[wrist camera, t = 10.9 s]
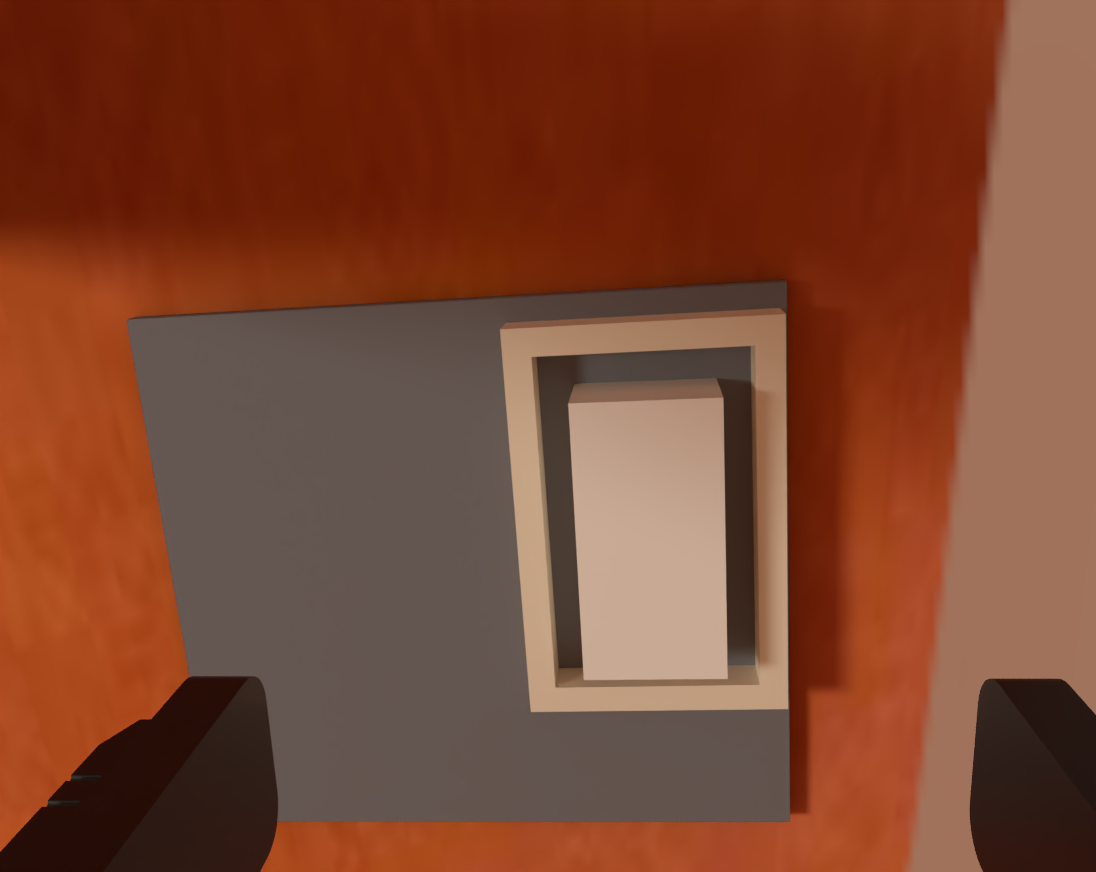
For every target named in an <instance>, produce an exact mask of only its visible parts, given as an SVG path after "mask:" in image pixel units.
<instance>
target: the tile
mask: <svg viewBox="0 0 1096 872" xmlns="http://www.w3.org/2000/svg"><path fill="white" fill-rule="evenodd" d="M568 409H569V427H570V445H571V462H572V480H573V498H574V516H575V533H576V551H577V569H578V587H579V604H580V622H581V640H582V658H583V675H584V680H658V679H728V670H727V603H726V537H725V470H724V404H723V395H722V392H721V390H720V387H719V384H718V381H717V379H716V378H705V379H680V380H655V381H630V382H605V383H580V384H574V387H573V390H572V393H571V396H570V399H569V403H568Z"/></svg>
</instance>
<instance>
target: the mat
mask: <svg viewBox="0 0 1096 872" xmlns="http://www.w3.org/2000/svg"><path fill="white" fill-rule="evenodd" d="M127 326H128V332H129V337H130V343H131V348H132V354H133V360H134V365H135V371H136V377H137V382H138V388H139V394H140V399H141V405H142V411H143V416H144V422H145V428H146V433H147V439H148V444H149V450H150V456H151V461H152V467H153V473H154V478H155V484H156V490H157V495H158V501H159V507H160V512H161V518H162V524H163V529H164V535H165V540H166V546H167V552H168V557H169V563H170V569H171V574H172V580H173V586H174V591H175V597H176V603H177V608H178V614H179V619H180V625H181V631H182V636H183V642H184V648H185V653H186V659H187V665H188V670H189V676H190V677H191V676H255V677H258V678H259V679H260V681H261V682H262V684H263V687H264V690H265V694H266V700H267V709H268V717H269V725H270V733H271V742H272V750H273V758H274V767H275V775H276V783H277V791H278V819H277V822H790V731H789V556H788V381H787V282H786V281H785V280H769V281H752V282H734V283H717V284H699V285H682V286H665V287H647V288H630V289H612V290H595V291H578V292H560V293H543V294H525V295H508V296H491V297H473V298H456V299H438V300H421V301H404V302H386V303H369V304H351V305H334V306H317V307H299V308H282V309H264V310H247V311H230V312H212V313H195V314H177V315H160V316H143V317H134V318H131V319H127ZM705 378H716V379H717V381H718V384H719V387H720V390H721V392H722V395H723V404H724V470H725V537H726V603H727V670H728V679H658V680H584V675H583V658H582V640H581V622H580V604H579V587H578V569H577V551H576V533H575V516H574V498H573V480H572V462H571V445H570V427H569V409H568V403H569V399H570V396H571V393H572V390H573V387H574V384H580V383H605V382H630V381H655V380H680V379H705Z"/></svg>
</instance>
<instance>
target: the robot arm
mask: <svg viewBox="0 0 1096 872" xmlns="http://www.w3.org/2000/svg"><path fill="white" fill-rule="evenodd" d="M972 773H973V774H972V785H971V798H970V823H971V831H972V838H973V843H974V847H975V851H976V855H977V858H978V861H979V863H980V866H981V868H982V870H983V872H1096V715H1095V714H1094V712H1093V711H1092V710H1091V709H1090V708H1089V707H1088V706H1087V705H1086V704H1085V702H1084V701H1083V700H1082V699H1081V698H1080V697H1079V696H1078V695H1077V693H1076V692H1075V691H1074V690H1073V689H1072V688H1071V687H1070V685H1069V684H1067V683H1066V682H1065V681H1063V680H1062V679H988V680H986V681H985V682H984V684H983V685H982V687H981V690H980V695H979V701H978V712H977V723H976V736H975V748H974V760H973V772H972ZM277 819H278V791H277V783H276V775H275V767H274V758H273V750H272V742H271V733H270V725H269V717H268V709H267V700H266V694H265V690H264V687H263V684H262V682H261V681H260V679H259V678H258V677H255V676H191V677H189V678H187V679H186V680H185V681H184V682H183V684H182V685H181V686H180V687H179V688H178V689H177V690H176V692H175V693H174V694H173V695H172V696H171V697H170V698H169V700H168V701H167V702H166V703H165V704H164V705H163V707H162V708H161V709H160V710H159V711H158V712H157V713H156V715H155V716H154V717H153V718H152V719H151V720H139V721H137V722H135V723H134V724H132V725H131V726H129V727H127V728H126V729H124V730H123V731H121V732H119V733H118V734H116V735H114V736H113V737H111V738H110V739H108V740H106V741H105V742H103V743H101V744H100V745H99V746H98V747H97V748H96V749H95V750H94V751H93V752H92V753H91V754H90V755H89V756H88V757H87V759H86V760H85V761H84V762H83V763H82V764H81V765H80V766H79V767H78V768H77V769H76V770H75V772H74V773H73V774H72V775H71V781H65V782H64V783H63V785H62V786H61V787H60V788H59V789H58V790H57V791H56V792H55V793H54V794H53V795H52V797H51V798H50V799H49V800H48V805H47V807H41V808H40V810H39V811H38V812H37V813H36V814H35V815H34V816H33V817H32V818H31V819H30V820H29V821H28V823H27V824H26V825H25V826H24V827H23V828H22V829H21V830H20V831H19V832H18V833H17V834H16V836H15V837H14V838H13V839H12V840H11V841H10V842H9V843H8V844H7V845H6V846H5V847H4V849H3V850H2V851H1V852H0V872H260V871H261V869H262V867H263V865H264V863H265V861H266V859H267V857H268V855H269V853H270V850H271V847H272V844H273V841H274V837H275V832H276V826H277Z"/></svg>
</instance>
